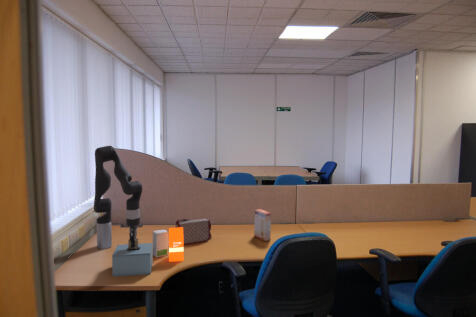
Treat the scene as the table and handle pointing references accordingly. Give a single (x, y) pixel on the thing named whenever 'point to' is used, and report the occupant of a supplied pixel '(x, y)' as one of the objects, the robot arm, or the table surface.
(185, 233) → the handbag
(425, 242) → the table surface
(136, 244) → the brown rectangular block
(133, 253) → the box
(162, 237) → the skincare box
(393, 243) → the table surface
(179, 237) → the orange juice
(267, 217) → the cracker box
